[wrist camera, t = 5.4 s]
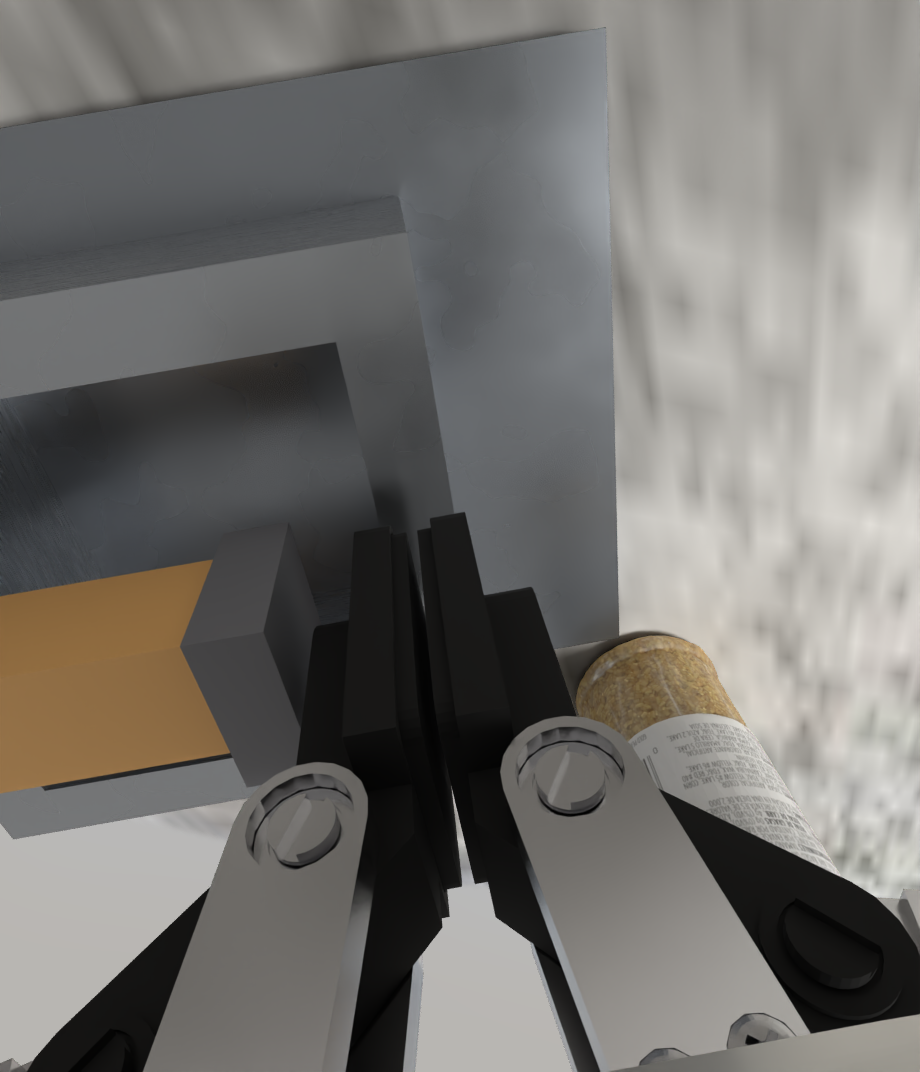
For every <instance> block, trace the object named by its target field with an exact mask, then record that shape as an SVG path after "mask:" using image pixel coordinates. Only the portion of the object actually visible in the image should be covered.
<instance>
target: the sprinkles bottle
mask: <svg viewBox="0 0 920 1072" xmlns="http://www.w3.org/2000/svg"><path fill="white" fill-rule="evenodd" d="M576 708H577V711H578V714H579V717H586V718H589V719H592V720H595V721H598V722H602V723H604V724H606V725H608V726H609V727H611V728H612V729H614V730H616V731H617V732H619V733H620V734H621V735H622V736H623V737H624V738H625V739H626V740H627V742H628V743H629V744H630V745H631V746H632V747H633V749H634V750H635V752H636V753H637V755H638V757H639V758H640V760H641V762H642V763H643V765H644V766H645V768H646V770H647V771H648V773H649V774H650V776H651V778H652V779H653V781H654V782H655V784H656V786H657V787H658V788H659V789H661V790H663V791H665V792H667V793H669V794H671V795H673V796H675V797H677V798H679V799H681V800H683V801H686V802H688V803H690V804H692V805H694V806H696V807H698V808H700V809H702V810H704V811H706V812H708V813H710V814H712V815H714V816H716V817H718V818H721V819H723V820H725V821H727V822H729V823H731V824H733V825H735V826H737V827H739V828H741V829H743V830H745V831H747V832H749V833H751V834H753V835H756V836H758V837H760V838H762V839H764V840H766V841H768V842H770V843H772V844H774V845H776V846H778V847H780V848H782V849H784V850H786V851H788V852H791V853H793V854H795V855H797V856H799V857H801V858H803V859H805V860H807V861H809V862H811V863H813V864H815V865H817V866H819V867H821V868H824V869H826V870H828V871H830V872H832V873H834V874H836V875H838V876H840V877H841V875H840V874H839V872H838V870H837V869H836V867H835V865H834V864H833V862H832V861H831V859H830V857H829V856H828V854H827V852H826V851H825V849H824V848H823V846H822V844H821V843H820V841H819V839H818V838H817V836H816V834H815V833H814V831H813V830H812V828H811V826H810V825H809V823H808V821H807V820H806V818H805V816H804V815H803V813H802V812H801V810H800V808H799V807H798V805H797V803H796V802H795V800H794V798H793V797H792V795H791V794H790V792H789V790H788V789H787V787H786V785H785V784H784V782H783V780H782V779H781V777H780V776H779V774H778V772H777V771H776V769H775V767H774V766H773V764H772V762H771V761H770V759H769V758H768V756H767V754H766V753H765V751H764V750H763V748H762V746H761V745H760V743H759V741H758V740H757V738H756V737H755V735H754V734H753V733H752V732H751V731H750V730H749V729H748V728H747V726H746V724H745V723H744V721H743V719H742V718H741V716H740V715H739V713H738V711H737V710H736V708H735V707H734V705H733V704H732V702H731V700H730V699H729V697H728V695H727V693H726V692H725V690H724V688H723V687H722V685H721V683H720V681H719V680H718V676H717V673H716V670H715V668H714V666H713V664H712V661H711V660H710V659H709V658H708V656H707V655H706V654H705V653H704V651H703V650H702V649H701V648H700V647H699V646H697V645H695V644H693V643H690V642H687V641H685V640H683V639H680V638H675V637H670V636H646V637H641V638H637V639H634V640H631V641H629V642H626V643H623V644H621V645H618V646H616V647H615V648H613V649H612V650H610V651H608V652H606V653H604V654H603V655H601V656H600V657H599V658H598V659H597V660H596V661H595V662H594V663H593V664H592V665H591V666H590V667H589V669H588V670H587V671H586V673H585V676H584V677H583V679H582V680H581V681H580V684H579V687H578V691H577V696H576Z"/></svg>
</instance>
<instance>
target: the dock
mask: <svg viewBox="0 0 920 1072" xmlns="http://www.w3.org/2000/svg"><path fill="white" fill-rule="evenodd" d="M461 512H465V514H466V518H467V523H468V527H469V531H470V536H471V540H472V545H473V549H474V553H475V558H476V562H477V567H478V571H479V575H480V580H481V584H482V589H483V593H484V595H488V594H494V593H499V592H505V591H510V590H515V589H521V588H526V587H532V588H533V590H534V592H535V595H536V598H537V601H538V604H539V607H540V610H541V613H542V616H543V619H544V622H545V625H546V628H547V631H548V634H549V636H550V639H551V642H552V645H553V648H554V649H558V648H564V647H570V646H575V645H581V644H587V643H593V642H598V641H604V640H610V639H615V638H619V603H618V557H617V512H616V466H615V420H614V375H613V329H612V284H611V238H610V193H609V147H608V102H607V56H606V27H604V28H598V29H592V30H586V31H580V32H574V33H568V34H563V35H557V36H551V37H545V38H539V39H533V40H527V41H521V42H515V43H509V44H503V45H497V46H491V47H485V48H479V49H473V50H467V51H461V52H455V53H449V54H443V55H437V56H431V57H425V58H419V59H413V60H407V61H401V62H395V63H389V64H383V65H377V66H371V67H365V68H359V69H353V70H347V71H341V72H335V73H329V74H323V75H317V76H311V77H305V78H299V79H293V80H287V81H281V82H275V83H269V84H263V85H257V86H251V87H245V88H239V89H233V90H227V91H221V92H215V93H209V94H203V95H197V96H191V97H185V98H179V99H173V100H167V101H161V102H155V103H149V104H143V105H137V106H131V107H125V108H119V109H113V110H107V111H101V112H95V113H89V114H83V115H77V116H71V117H65V118H59V119H53V120H47V121H41V122H35V123H29V124H23V125H17V126H11V127H5V128H0V596H5V595H11V594H16V593H22V592H28V591H34V590H39V589H45V588H51V587H57V586H63V585H68V584H74V583H80V582H86V581H91V580H97V579H103V578H109V577H114V576H120V575H126V574H132V573H138V572H143V571H149V570H155V569H161V568H166V567H172V566H178V565H184V564H189V563H195V562H201V561H207V560H213V559H214V556H215V554H216V551H217V548H218V546H219V543H220V541H221V538H222V535H223V533H229V532H234V531H240V530H246V529H252V528H258V527H263V526H269V525H275V524H281V523H286V522H289V525H290V528H291V531H292V534H293V537H294V540H295V543H296V546H297V549H298V552H299V556H300V559H301V562H302V565H303V568H304V571H305V574H306V577H307V580H308V583H309V587H310V590H311V593H312V596H313V599H314V602H315V605H316V608H317V611H318V614H319V618H320V621H321V624H322V625H325V624H330V623H336V622H341V621H347V620H349V607H350V590H351V573H352V555H353V538H354V532H357V531H362V530H368V529H373V528H378V527H384V526H389V525H391V527H392V530H393V534H399V533H404V532H406V533H407V536H408V540H409V544H410V549H411V553H412V558H413V562H414V567H415V571H416V576H417V580H418V585H419V589H420V593H421V598H422V602H423V607H424V611H425V606H424V596H423V585H422V575H421V565H420V555H419V545H418V534H417V530H421V529H426V528H431V526H430V518H433V517H439V516H444V515H450V514H455V513H461ZM260 786H261V785H259V786H254V787H248V788H247V787H246V785H245V783H244V780H243V778H242V776H241V774H240V772H239V770H238V768H237V766H236V764H235V762H234V759H233V757H232V755H231V753H228V754H222V755H216V756H211V757H205V758H199V759H194V760H188V761H182V762H177V763H171V764H165V765H160V766H154V767H148V768H142V769H137V770H131V771H125V772H120V773H114V774H108V775H103V776H97V777H91V778H86V779H80V780H74V781H69V782H63V783H57V784H52V785H46V786H40V787H35V788H29V789H23V790H17V791H12V792H6V793H0V823H1V825H2V826H3V827H4V828H5V830H6V831H7V832H8V833H9V835H10V836H11V837H12V838H13V839H18V838H23V837H29V836H35V835H41V834H46V833H52V832H58V831H63V830H69V829H75V828H80V827H86V826H92V825H97V824H103V823H108V822H114V821H120V820H126V819H131V818H137V817H143V816H148V815H154V814H160V813H165V812H171V811H177V810H182V809H188V808H194V807H199V806H205V805H211V804H216V803H222V802H228V801H233V800H239V799H245V798H249V797H250V796H251V795H252V794H253V793H254V792H255V791H256V790H257V788H258V787H260Z"/></svg>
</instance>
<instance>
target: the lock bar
mask: <svg viewBox="0 0 920 1072" xmlns="http://www.w3.org/2000/svg"><path fill="white" fill-rule="evenodd" d="M320 625H322V624H321V621H320V618H319V614H318V611H317V608H316V605H315V602H314V599H313V596H312V593H311V590H310V587H309V583H308V580H307V577H306V574H305V571H304V568H303V565H302V562H301V559H300V556H299V552H298V549H297V546H296V543H295V540H294V537H293V534H292V531H291V528H290V525H289V522H286V523H281V524H275V525H269V526H263V527H258V528H252V529H246V530H240V531H234V532H229V533H223V535H222V538H221V541H220V543H219V546H218V548H217V551H216V554H215V556H214V559H213V560H207V561H201V562H195V563H189V564H184V565H178V566H172V567H166V568H161V569H155V570H149V571H143V572H138V573H132V574H126V575H120V576H114V577H109V578H103V579H97V580H91V581H86V582H80V583H74V584H68V585H63V586H57V587H51V588H45V589H39V590H34V591H28V592H22V593H16V594H11V595H5V596H0V793H6V792H12V791H17V790H23V789H29V788H35V787H40V786H46V785H52V784H57V783H63V782H69V781H74V780H80V779H86V778H91V777H97V776H103V775H108V774H114V773H120V772H125V771H131V770H137V769H142V768H148V767H154V766H160V765H165V764H171V763H177V762H182V761H188V760H194V759H199V758H205V757H211V756H216V755H222V754H228V753H231V755H232V757H233V759H234V762H235V764H236V766H237V768H238V770H239V772H240V774H241V776H242V778H243V780H244V783H245V785H246V787H247V788H248V787H254V786H259V785H262V784H264V783H265V782H267V781H268V780H269V779H271V778H272V777H273V776H275V775H276V774H279V773H281V772H283V771H285V770H288V769H290V768H292V767H294V766H296V762H297V755H298V747H299V739H300V731H301V723H302V715H303V707H304V700H305V692H306V684H307V676H308V668H309V660H310V652H311V645H312V637H313V632H314V629H315V628H316V626H320Z"/></svg>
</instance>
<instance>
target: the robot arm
mask: <svg viewBox="0 0 920 1072" xmlns="http://www.w3.org/2000/svg"><path fill="white" fill-rule="evenodd" d="M430 526H431V528H426V529H421V530H417V534H418V545H419V555H420V565H421V575H422V585H423V596H424V606H425V611H424V607H423V602H422V598H421V593H420V589H419V585H418V580H417V576H416V571H415V567H414V562H413V558H412V553H411V549H410V544H409V540H408V536H407V533H406V532H404V533H399V534H393V530H392V527H391V525H389V526H384V527H378V528H373V529H368V530H362V531H357V532H354V538H353V555H352V573H351V590H350V607H349V620H347V621H341V622H336V623H330V624H325V625H320V626H316V628H315V629H314V632H313V637H312V645H311V652H310V660H309V668H308V676H307V684H306V692H305V700H304V707H303V715H302V723H301V731H300V739H299V747H298V755H297V762H296V766H294V767H292V768H290V769H288V770H285V771H283V772H281V773H279V774H276V775H275V776H273V777H272V778H271V779H269V780H268V781H267V782H265V783H264V784H262V785H261V786H260V787H258V788H257V790H256V791H255V792H254V793H253V794H252V795H251V796H250V797H249V798H248V800H247V801H246V802H245V803H244V804H243V806H242V808H241V810H240V812H239V814H238V816H237V817H236V819H235V821H234V823H233V826H232V829H231V832H230V834H229V837H228V840H227V843H226V845H225V848H224V851H223V854H222V856H221V859H220V862H219V865H218V867H217V870H216V873H215V875H214V878H213V881H212V884H211V887H210V888H209V889H207V891H205V892H204V893H203V894H202V895H201V896H200V897H199V898H198V899H197V900H196V901H195V902H194V903H193V904H192V905H191V906H190V907H189V908H188V909H186V911H184V912H183V913H182V914H181V915H180V916H179V917H178V918H177V919H176V920H175V921H174V922H173V923H172V924H171V925H170V926H169V927H168V928H167V929H165V931H163V932H162V933H161V934H160V935H159V936H158V937H157V938H156V939H155V940H154V941H153V942H152V943H151V944H150V945H149V946H148V947H147V948H146V949H144V951H142V952H141V953H140V954H139V955H138V956H137V957H136V958H135V959H134V960H133V961H132V962H131V963H130V964H129V965H128V966H127V967H126V968H124V970H122V971H121V972H120V973H119V974H118V975H117V976H116V977H115V978H114V979H113V980H112V981H111V982H110V983H109V984H108V985H107V986H106V987H105V988H104V989H102V990H101V991H100V992H99V993H98V994H97V995H96V996H95V997H94V998H93V999H92V1000H91V1001H90V1002H89V1003H88V1004H87V1005H86V1006H85V1007H84V1008H82V1009H81V1010H80V1011H79V1012H78V1013H77V1014H76V1015H75V1016H74V1017H73V1018H72V1019H71V1020H70V1021H69V1022H68V1023H67V1024H66V1025H65V1026H64V1027H63V1028H61V1029H60V1030H59V1031H58V1032H57V1033H56V1035H55V1036H54V1037H53V1038H52V1039H51V1040H50V1042H49V1043H48V1044H47V1045H46V1046H45V1047H44V1048H43V1050H42V1051H41V1052H40V1053H39V1054H38V1055H37V1056H36V1057H35V1059H34V1060H33V1061H31V1062H29V1063H26V1064H24V1065H22V1066H21V1065H19V1064H18V1063H17V1062H16V1061H15V1060H14V1059H13V1058H11V1059H9V1060H7V1061H5V1062H2V1063H0V1072H415V1067H416V1056H417V1043H418V1032H419V1020H420V1008H421V995H422V984H423V961H422V953H423V952H424V951H425V949H426V948H427V947H428V945H429V944H430V943H431V941H432V940H433V939H434V938H435V936H436V935H437V934H438V932H439V931H440V930H441V928H442V918H445V917H449V905H448V895H447V889H451V888H457V887H462V878H461V868H460V859H459V850H458V841H457V832H456V823H455V814H454V805H453V796H452V790H453V794H454V799H455V803H456V807H457V811H458V815H459V820H460V824H461V828H462V832H463V836H464V841H465V845H466V849H467V853H468V857H469V861H470V866H471V870H472V874H473V878H474V882H475V884H478V883H483V882H488V884H489V889H490V893H491V897H492V902H493V906H494V911H495V916H496V918H498V919H499V920H501V921H502V922H503V923H505V924H507V925H508V926H509V927H510V928H512V929H513V930H515V931H516V932H517V933H519V934H520V935H522V936H523V937H524V938H526V939H527V940H529V941H530V943H531V948H532V953H533V956H534V959H535V962H536V965H537V968H538V971H539V974H540V977H541V980H542V983H543V986H544V989H545V991H546V995H547V998H548V1001H549V1004H550V1007H551V1010H552V1012H553V1015H554V1018H555V1021H556V1024H557V1027H558V1030H559V1033H560V1036H561V1039H562V1042H563V1045H564V1048H565V1051H566V1054H567V1056H568V1060H569V1063H570V1066H571V1069H572V1071H573V1072H920V890H916V889H903V892H902V894H901V897H900V899H893V898H876V897H874V896H873V895H871V894H870V893H868V892H866V891H865V890H863V889H862V888H860V887H858V886H857V885H855V884H853V883H852V882H850V881H848V880H846V879H844V878H842V877H840V876H838V875H836V874H834V873H832V872H830V871H828V870H826V869H824V868H821V867H819V866H817V865H815V864H813V863H811V862H809V861H807V860H805V859H803V858H801V857H799V856H797V855H795V854H793V853H791V852H788V851H786V850H784V849H782V848H780V847H778V846H776V845H774V844H772V843H770V842H768V841H766V840H764V839H762V838H760V837H758V836H756V835H753V834H751V833H749V832H747V831H745V830H743V829H741V828H739V827H737V826H735V825H733V824H731V823H729V822H727V821H725V820H723V819H721V818H718V817H716V816H714V815H712V814H710V813H708V812H706V811H704V810H702V809H700V808H698V807H696V806H694V805H692V804H690V803H688V802H686V801H683V800H681V799H679V798H677V797H675V796H673V795H671V794H669V793H667V792H665V791H663V790H661V789H659V788H658V787H657V786H656V784H655V782H654V781H653V779H652V778H651V776H650V774H649V773H648V771H647V770H646V768H645V766H644V765H643V763H642V762H641V760H640V758H639V757H638V755H637V753H636V752H635V750H634V749H633V747H632V746H631V745H630V744H629V743H628V742H627V740H626V739H625V738H624V737H623V736H622V735H621V734H620V733H619V732H617V731H616V730H614V729H612V728H611V727H609V726H608V725H606V724H604V723H602V722H598V721H595V720H592V719H589V718H586V717H576V714H575V711H574V708H573V705H572V702H571V699H570V696H569V693H568V690H567V687H566V684H565V681H564V678H563V675H562V672H561V669H560V666H559V663H558V660H557V657H556V654H555V651H554V648H553V645H552V642H551V639H550V636H549V634H548V631H547V628H546V625H545V622H544V619H543V616H542V613H541V610H540V607H539V604H538V601H537V598H536V595H535V592H534V590H533V588H532V587H526V588H521V589H515V590H510V591H505V592H499V593H494V594H488V595H484V593H483V589H482V584H481V580H480V575H479V571H478V567H477V562H476V558H475V553H474V549H473V545H472V540H471V536H470V531H469V527H468V523H467V518H466V514H465V512H461V513H455V514H450V515H444V516H439V517H433V518H430ZM451 786H452V788H451Z"/></svg>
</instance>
